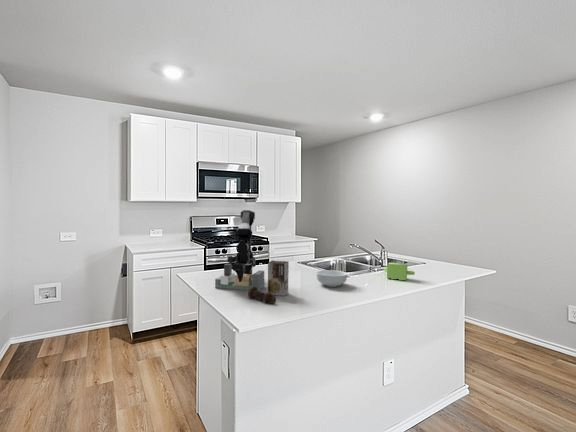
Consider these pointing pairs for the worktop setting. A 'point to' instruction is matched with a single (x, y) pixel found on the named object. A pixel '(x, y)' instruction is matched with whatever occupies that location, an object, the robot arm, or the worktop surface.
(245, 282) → the block
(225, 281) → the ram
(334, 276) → the cereal bowl
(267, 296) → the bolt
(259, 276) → the press frame
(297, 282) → the worktop surface
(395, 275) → the gearbox
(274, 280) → the coffee box
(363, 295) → the worktop surface
